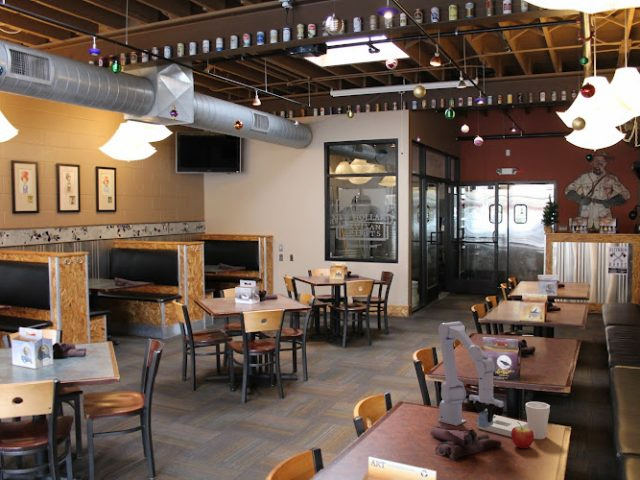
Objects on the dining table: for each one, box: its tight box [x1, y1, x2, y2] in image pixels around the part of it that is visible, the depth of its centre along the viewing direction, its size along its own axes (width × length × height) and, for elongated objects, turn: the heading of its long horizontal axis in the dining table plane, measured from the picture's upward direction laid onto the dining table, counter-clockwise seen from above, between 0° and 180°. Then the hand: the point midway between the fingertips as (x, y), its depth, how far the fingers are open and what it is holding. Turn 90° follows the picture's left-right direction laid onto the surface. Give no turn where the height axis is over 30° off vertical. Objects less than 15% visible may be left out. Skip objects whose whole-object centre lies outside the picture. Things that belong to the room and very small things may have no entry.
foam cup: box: [525, 401, 551, 440], centre depth 260 cm, size 10×9×13 cm
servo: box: [475, 408, 496, 428], centre depth 260 cm, size 12×3×6 cm, turn 135°
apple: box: [510, 422, 535, 449], centre depth 248 cm, size 8×8×10 cm
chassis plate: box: [477, 414, 528, 438], centre depth 270 cm, size 16×14×2 cm
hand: (485, 420), depth 260 cm, fingers closed on servo, 3 cm apart
